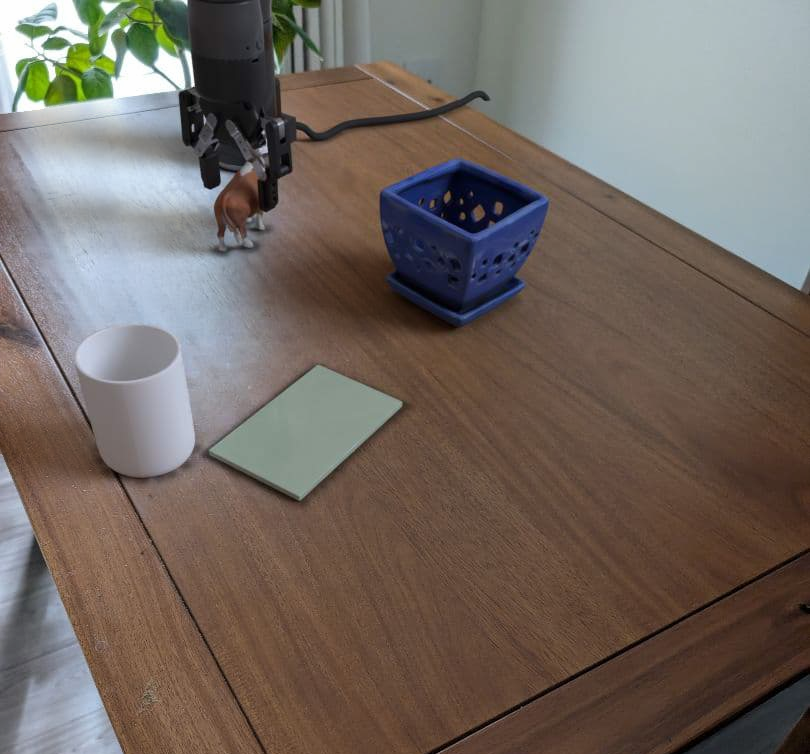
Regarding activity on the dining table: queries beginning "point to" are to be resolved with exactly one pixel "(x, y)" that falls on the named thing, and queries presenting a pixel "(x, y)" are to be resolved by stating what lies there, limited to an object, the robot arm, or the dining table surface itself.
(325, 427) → the tile
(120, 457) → the cup
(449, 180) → the flower pot
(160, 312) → the dining table surface
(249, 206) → the bull figurine
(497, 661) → the dining table surface
